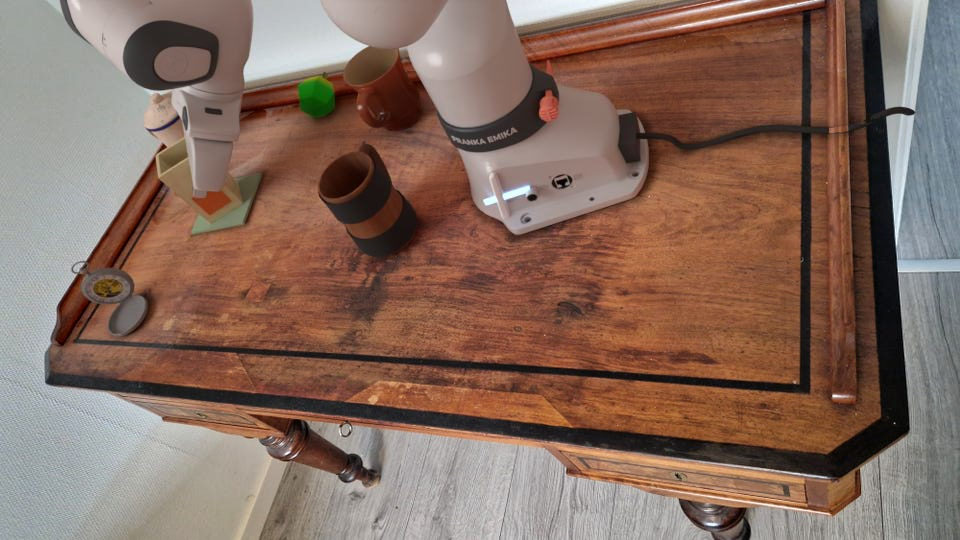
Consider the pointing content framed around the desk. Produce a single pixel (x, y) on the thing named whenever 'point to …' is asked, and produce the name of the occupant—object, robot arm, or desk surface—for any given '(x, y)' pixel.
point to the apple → (316, 96)
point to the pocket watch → (114, 297)
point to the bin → (179, 180)
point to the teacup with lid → (163, 119)
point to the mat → (237, 215)
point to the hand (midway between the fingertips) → (196, 180)
